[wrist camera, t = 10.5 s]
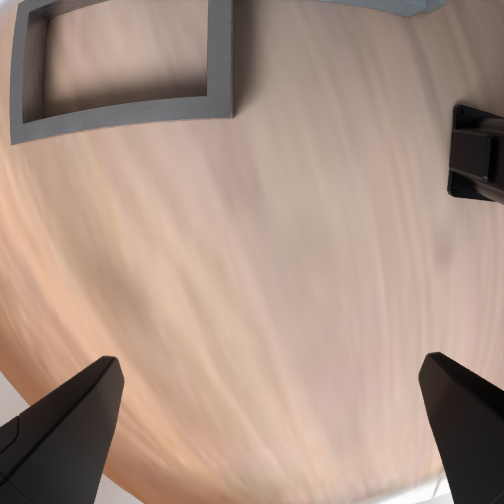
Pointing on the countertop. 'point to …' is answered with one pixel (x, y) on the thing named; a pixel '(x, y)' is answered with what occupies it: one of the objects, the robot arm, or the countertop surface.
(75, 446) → the robot arm
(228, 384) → the countertop surface
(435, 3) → the slate tray
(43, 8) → the metal collar
